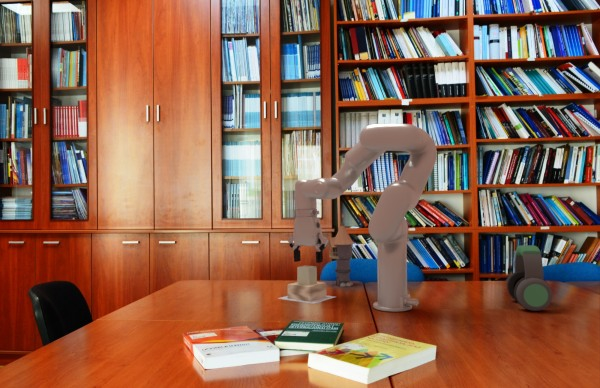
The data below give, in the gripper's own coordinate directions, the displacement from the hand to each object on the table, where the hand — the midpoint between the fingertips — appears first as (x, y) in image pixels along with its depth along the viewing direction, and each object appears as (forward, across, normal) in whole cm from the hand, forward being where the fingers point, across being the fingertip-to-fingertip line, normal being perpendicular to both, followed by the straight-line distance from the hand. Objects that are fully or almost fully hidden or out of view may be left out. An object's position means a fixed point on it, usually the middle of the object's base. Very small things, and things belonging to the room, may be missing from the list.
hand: (308, 262), depth 179 cm
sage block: (+8, +1, 0) cm, 8 cm away
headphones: (+16, -66, -32) cm, 75 cm away
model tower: (+14, +6, -32) cm, 35 cm away
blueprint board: (+14, +1, 0) cm, 14 cm away
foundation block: (+13, +1, 0) cm, 13 cm away
